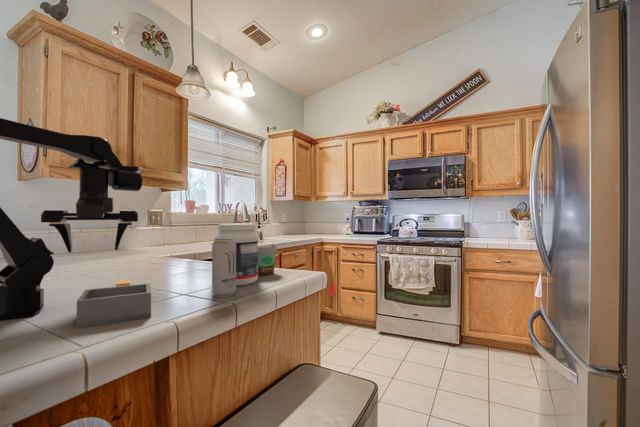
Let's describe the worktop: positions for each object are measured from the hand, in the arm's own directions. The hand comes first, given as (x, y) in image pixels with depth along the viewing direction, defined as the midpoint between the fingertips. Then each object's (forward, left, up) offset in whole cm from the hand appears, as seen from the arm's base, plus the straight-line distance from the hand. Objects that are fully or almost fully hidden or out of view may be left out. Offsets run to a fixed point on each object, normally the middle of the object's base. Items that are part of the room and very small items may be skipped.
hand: (93, 251), depth 74 cm
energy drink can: (+29, -12, -12) cm, 34 cm away
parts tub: (+6, -17, -12) cm, 22 cm away
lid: (+6, -1, -12) cm, 13 cm away
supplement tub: (+36, +1, -12) cm, 38 cm away
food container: (+48, +8, -12) cm, 50 cm away
